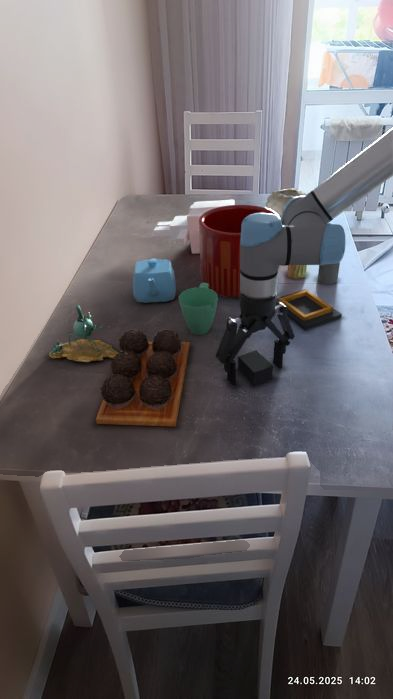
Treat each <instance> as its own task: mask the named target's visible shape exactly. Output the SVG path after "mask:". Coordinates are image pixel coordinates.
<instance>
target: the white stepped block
mask: <svg viewBox="0 0 393 699" xmlns="http://www.w3.org/2000/svg"><path fill="white" fill-rule="evenodd" d="M228 205H235V199H220V200H203V201H202V200H201V201H194V202H193V204H191V205H190V207H189V211H188V213H187V215H175V216H174V218H173V219H172V220H171V221H158V222H157V224H156V226H155V227H154V229H153V236H154V237H155V238H157V237H159V238H160V237H171V238H170V239H171V242H176V244H177V247H180V246H185V245H186V243H187V242H188V241H189V242H190V251H191V254H193V255H194V254H200V246H199V218H200V216H201V215H202V214H203V213H205V212H207V211H209V210H211V209H214V208H217V207H222V206H228Z"/></svg>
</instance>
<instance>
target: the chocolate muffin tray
mask: <svg viewBox="0 0 393 699" xmlns="http://www.w3.org/2000/svg"><path fill="white" fill-rule="evenodd" d="M118 341H119V343H117V345H119V346H118V347H119V353H118V354H116V356H114V358H112V360H111V362H110V373H111V376H109V377H108V378H107V377H106V378H105V380H104V381H103V384H102V386H101V387H100V391H101V392H100V394H101V397H102V398H101V400H102V401H101V403H100V407H99V409H98V413H97V415H96V418H95V423H96V425H117V426H118V425H119V426H121V425H122V426H146V427H147V426H149V427H150V426H151V427H175V428H176V426H177V421H178V416H179V410H180V405H181V399H182V392H183V387H184V383H185V382H184V381H185V376H186V370H187V365H188V364H187V363H188V358H189V353H190V346H191V344H190V341H188V342H187V341H186V342H185V341H182V340H181V338H180V336H179V334H178V333H177V332H175V331H174V330H172V329H168V328H166V329H163V330H160V331H157V332H156V333H155V334H154V335H153V339H152V341H149V339H148V337H147V335H146V334H145V333H144V332H143V331H141V330H139V329H134V328H131V329H129V330H127V331H124V333H122V334H121V336H120V338H119V339H118Z"/></svg>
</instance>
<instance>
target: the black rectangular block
mask: <svg viewBox="0 0 393 699" xmlns="http://www.w3.org/2000/svg"><path fill="white" fill-rule="evenodd" d="M237 371H239V373H240V374H241V375H242V376H243V378H245V379H246V380H247V381H248V383H249V384H251V385H252V386H253V387H257V386H259V385H262V384H264V383H267V382H270V381H272V380H273V378H274V377H273V376H274V364H273V363H271V362H270V361H269V360H268V359H267V358H265V356H263V355H262V354H261V352H259V351H258V350H257V349H254V350H252V351H249V352H246V353H243V354H241V355H238V356H237Z"/></svg>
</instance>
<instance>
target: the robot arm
mask: <svg viewBox="0 0 393 699" xmlns="http://www.w3.org/2000/svg"><path fill="white" fill-rule="evenodd" d="M392 177H393V127H392V128H391V129H389V130H387V132H386V133H384V134H383V135H382V136H381V137H379V138H378V139H376V140H375V141H374V142H373V143H372V144H370V145H369V146H368V147H366V148H364V149H363V151H361V152H360V153H358V154H357V155H356V156H355V157H353V158H352V159H350V161H348V162H347V163H345V165H343V166H342V167H340V168H339V169H338V170H336V171H335V172H334V173H333V174H332V175H330V176H329V177H328V178H326V179H325V180H324V181H322V182H321V183H320V184H318V186H316V187H314V189H312V190H310V191H309V192H308V193H307V194H306V195H305V196H296V197H293V198H291V199H290V200H289V201H288V202H287V203H286V204H285V206H284V208H283V211H282V218H283V220H281V219H280V218H279V217H278V216H277V215H275V214H267V213H254V214H251V215H249V216H247V217H246V218H245V219H244V220H243V222H242V227H241V239H240V290H241V291H240V298H239V310H240V313H239V315H238V317H236V318H232V317H227V318H226V320H225V330H224V332H223V335H222V337H221V339H220V342H219V345H218V348H217V351H216V353H215V358H216V359H217V360H218V362H219V363H220V364H223V371H224V372H225V373H226V380H227V381H228V383H229V384H230V385H231V386H232V387H236V385H237V362H236V360H235V359H236V357H238V356H237V355H238V354H239V352H240V351H241V350H242V347H243V346H244V344H245V343H246V341H247V339H250V338H251V336H252V335H253V334H255V333H257V332H259V331H265V330H266V328H267V329H269V330H270V332H271V333H272V334H273V335H274V336H275V337H276V338H277V339H275V340H273V341H274V342H273V357H272V365H274V366H275V367H276V368H278V370H281V369H283V363H284V355H286V352H287V347H288V346H290V344H291V341H290V340H294V339H295V337H296V336H295V333H294V330H293V327H292V324H291V322H290V318H289V317H288V316H287V307H286V306H285V305H284V304H282V303H281V302H278V303H277V304H276V298H278V297H277V296H278V293H277V291H278V283H279V282H278V281H279V267H280V266H281V267H282V266H287V267H288V265H307V266H319V265H321V266H322V265H325V264H336V263H339V262H340V263H341V261H342V260H343V258H344V256H345V251H346V244H347V242H346V232H345V229H344V227H343V225H341V224H337V223H336V224H335V223H330V222H332V221H333V220H334V219H336V218H337V217H338V216H339V215H341V214H343V213H344V212H345V211H346V210H348V209H349V208H351V207H352V206H353V205H355V204H356V203H357V202H360V200H363V199H364V197H366V196H367V195H368V194H370V193H372V192H373V191H375V189H377V188H378V187H380V186H381V185H383V183H385V182H386V181H388V180H389V179H391V178H392ZM275 315H276V317H277V318H278V319H277V320H278V321H279V325H280V327H281V329H282V331H281V330H280V329H279V328H278V327H277V325H276V324H275V323H274V322H273V319H274V317H275ZM282 332H283V333H282Z"/></svg>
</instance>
